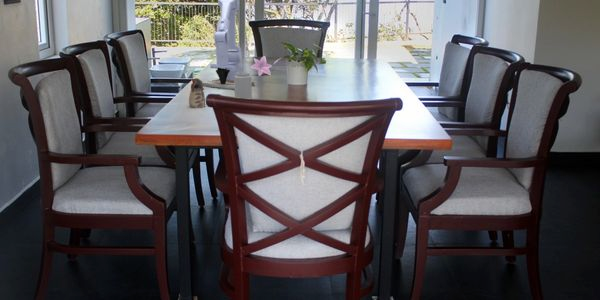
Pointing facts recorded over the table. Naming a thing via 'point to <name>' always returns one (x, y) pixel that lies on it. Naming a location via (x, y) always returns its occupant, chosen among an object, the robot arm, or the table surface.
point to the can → (243, 85)
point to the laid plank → (230, 81)
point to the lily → (261, 66)
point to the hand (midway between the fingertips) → (223, 84)
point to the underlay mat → (221, 88)
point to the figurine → (197, 94)
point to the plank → (219, 84)
